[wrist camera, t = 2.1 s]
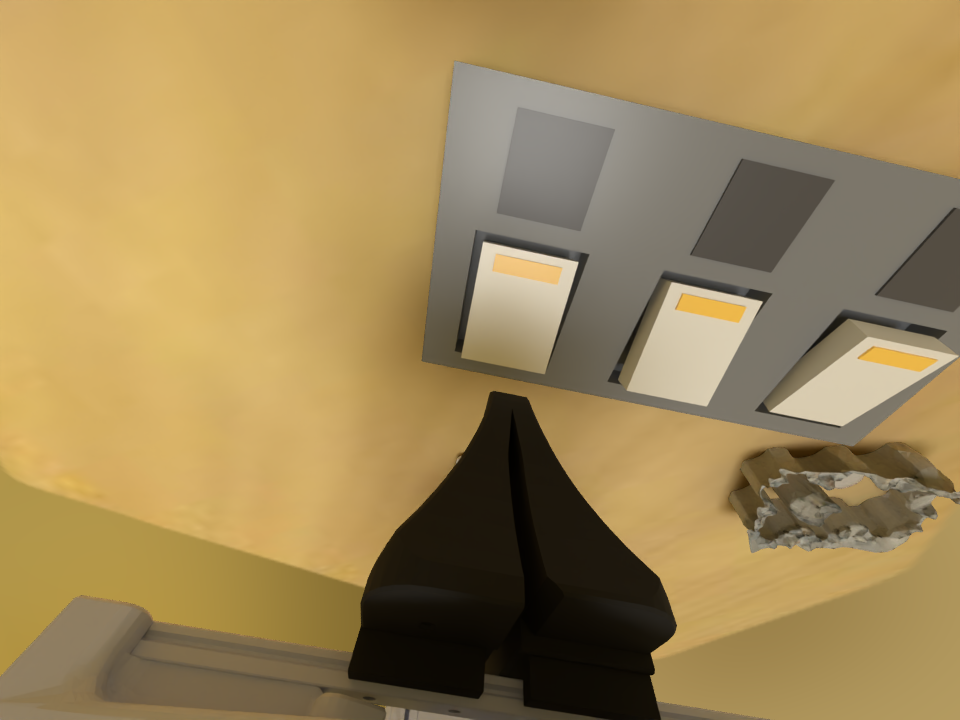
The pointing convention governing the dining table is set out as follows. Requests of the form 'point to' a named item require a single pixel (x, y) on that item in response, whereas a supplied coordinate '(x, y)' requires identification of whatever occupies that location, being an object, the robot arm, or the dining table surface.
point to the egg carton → (829, 519)
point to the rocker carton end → (855, 372)
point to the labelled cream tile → (517, 306)
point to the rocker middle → (686, 341)
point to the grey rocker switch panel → (686, 238)
